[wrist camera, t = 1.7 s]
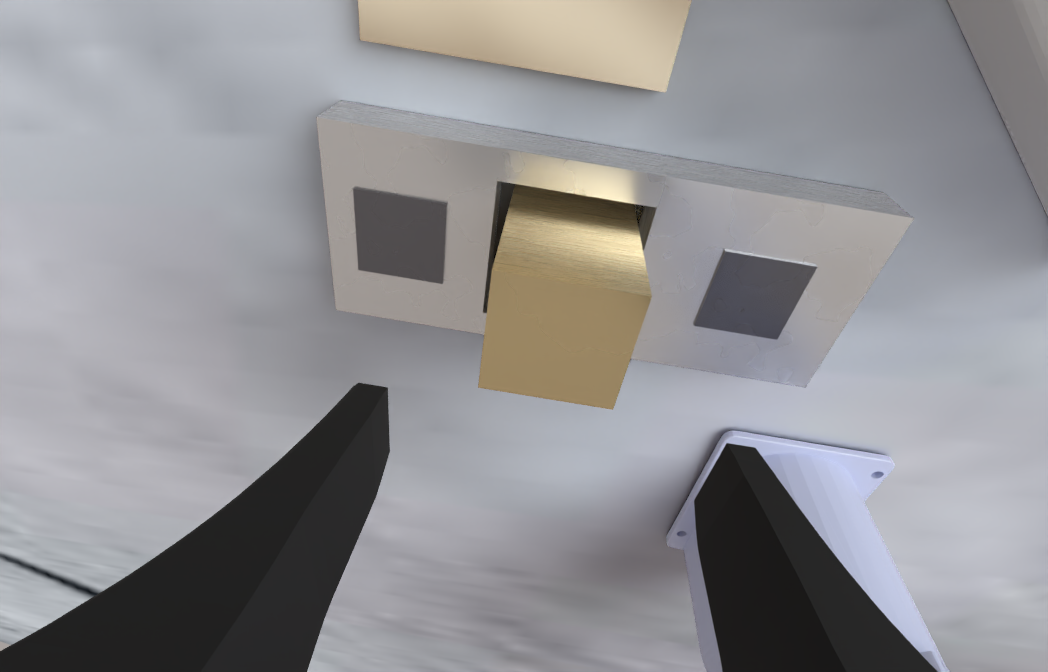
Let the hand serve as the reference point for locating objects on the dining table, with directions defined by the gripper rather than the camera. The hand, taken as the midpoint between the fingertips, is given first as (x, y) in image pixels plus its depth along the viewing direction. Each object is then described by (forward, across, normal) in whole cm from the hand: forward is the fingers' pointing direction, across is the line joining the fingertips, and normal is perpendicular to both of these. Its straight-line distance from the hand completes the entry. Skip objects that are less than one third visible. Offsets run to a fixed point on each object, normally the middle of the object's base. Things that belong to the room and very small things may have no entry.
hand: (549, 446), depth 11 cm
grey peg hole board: (+10, -1, 0) cm, 10 cm away
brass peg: (+10, 0, 0) cm, 10 cm away
